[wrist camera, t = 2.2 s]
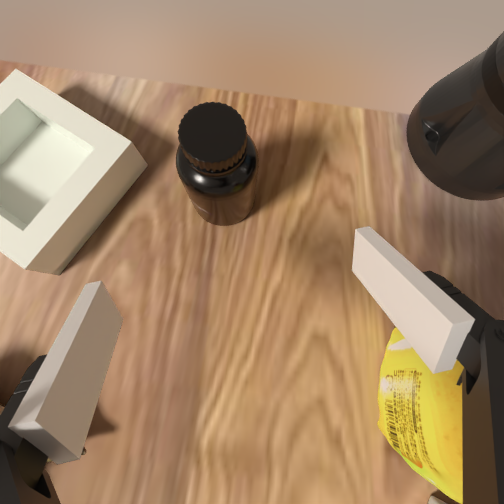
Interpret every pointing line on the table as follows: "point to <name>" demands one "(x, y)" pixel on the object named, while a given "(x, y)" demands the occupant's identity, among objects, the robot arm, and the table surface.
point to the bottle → (422, 415)
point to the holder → (55, 175)
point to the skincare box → (435, 500)
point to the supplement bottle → (217, 163)
